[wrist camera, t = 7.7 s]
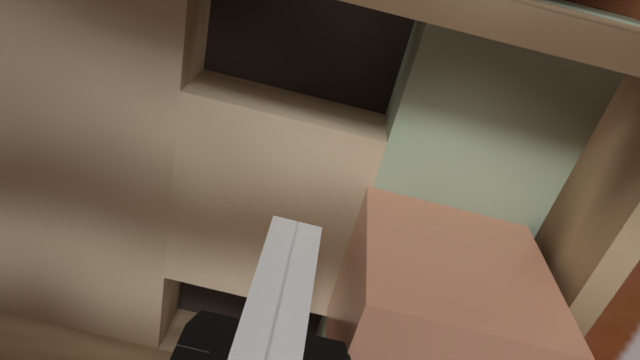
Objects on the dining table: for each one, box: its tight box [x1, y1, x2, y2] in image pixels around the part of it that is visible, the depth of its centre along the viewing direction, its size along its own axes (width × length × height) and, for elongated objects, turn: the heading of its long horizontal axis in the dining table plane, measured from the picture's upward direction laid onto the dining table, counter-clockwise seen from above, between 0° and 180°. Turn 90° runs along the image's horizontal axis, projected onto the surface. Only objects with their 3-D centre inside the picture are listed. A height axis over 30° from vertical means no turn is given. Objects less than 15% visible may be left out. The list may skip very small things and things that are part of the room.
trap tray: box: [0, 0, 640, 360], centre depth 15 cm, size 16×20×6 cm
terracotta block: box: [325, 186, 595, 360], centre depth 14 cm, size 5×5×5 cm
